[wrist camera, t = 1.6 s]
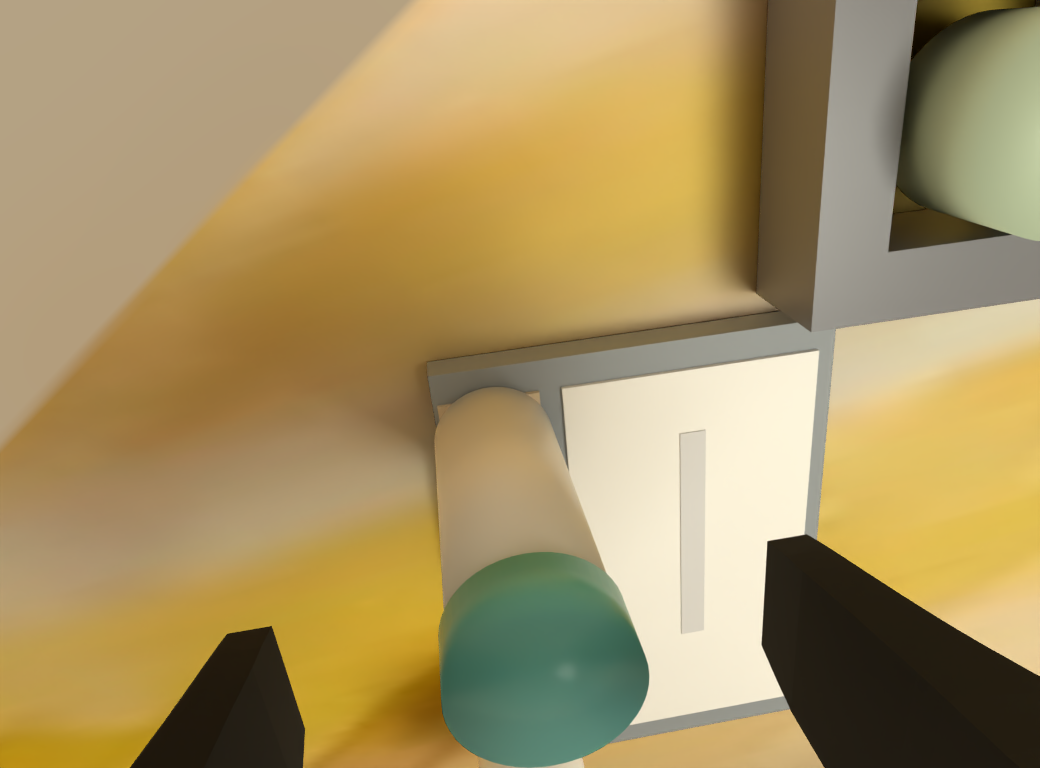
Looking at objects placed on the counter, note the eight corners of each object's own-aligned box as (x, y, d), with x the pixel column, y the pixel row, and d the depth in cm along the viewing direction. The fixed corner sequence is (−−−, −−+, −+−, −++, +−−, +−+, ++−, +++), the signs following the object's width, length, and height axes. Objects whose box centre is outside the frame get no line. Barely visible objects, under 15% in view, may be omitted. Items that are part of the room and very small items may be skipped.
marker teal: (551, 373, 16) (646, 593, 9) (561, 484, 17) (651, 747, 10) (420, 392, 15) (425, 632, 9) (439, 503, 17) (456, 783, 10)
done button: (1083, -1, 13) (1222, -11, 11) (1043, 200, 15) (1157, 226, 13) (895, 20, 13) (997, 14, 11) (874, 222, 14) (959, 254, 12)
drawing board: (818, 305, 17) (839, 319, 16) (788, 684, 22) (804, 710, 21) (426, 362, 16) (427, 379, 15) (490, 741, 21) (494, 769, 20)
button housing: (1122, -105, 14) (1258, -135, 12) (1046, 252, 17) (1143, 283, 15) (770, -70, 13) (843, -94, 11) (756, 293, 16) (810, 332, 14)
